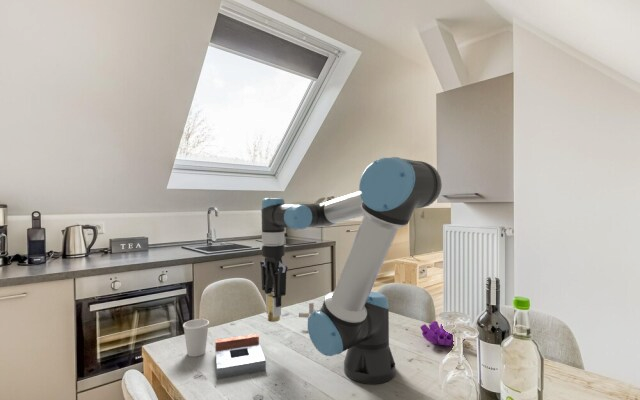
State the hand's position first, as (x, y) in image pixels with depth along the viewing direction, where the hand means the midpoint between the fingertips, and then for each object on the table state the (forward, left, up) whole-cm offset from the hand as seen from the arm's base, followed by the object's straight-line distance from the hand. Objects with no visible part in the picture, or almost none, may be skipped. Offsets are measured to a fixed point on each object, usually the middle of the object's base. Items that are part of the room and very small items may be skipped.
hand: (273, 314), depth 111 cm
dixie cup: (+10, +25, -13) cm, 30 cm away
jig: (-2, +12, -13) cm, 18 cm away
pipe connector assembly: (-13, -56, -13) cm, 60 cm away
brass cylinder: (0, 0, -2) cm, 2 cm away
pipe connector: (+17, -18, -13) cm, 28 cm away
